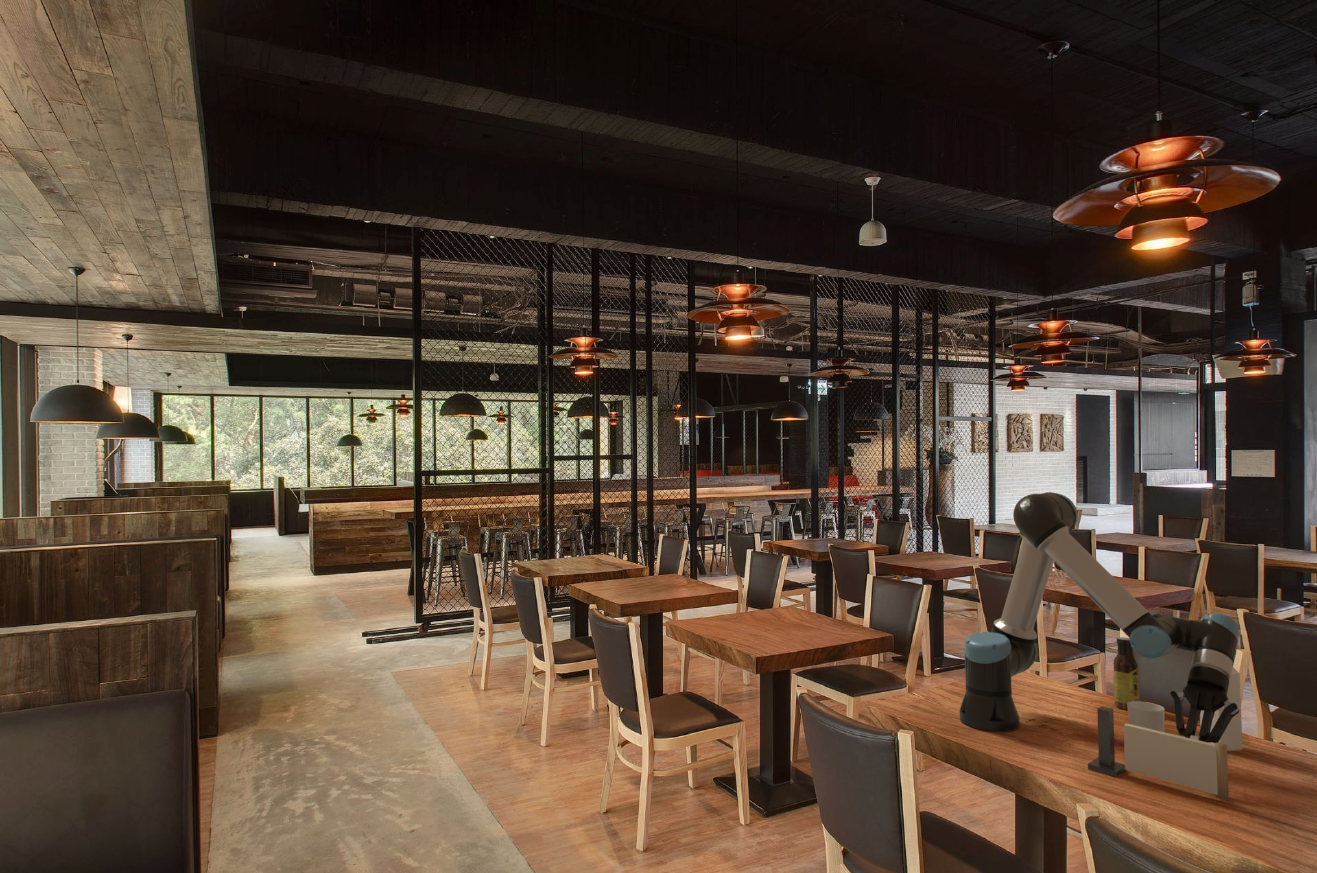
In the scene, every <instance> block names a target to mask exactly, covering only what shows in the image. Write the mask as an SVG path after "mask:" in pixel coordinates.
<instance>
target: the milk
mask: <svg viewBox="0 0 1317 873" xmlns="http://www.w3.org/2000/svg"><path fill="white" fill-rule="evenodd" d="M1227 697H1228V700H1229V701H1230V702H1231V703H1235V704H1237V707H1238V709H1239V713H1238V714H1237V715H1235V716H1234V717H1233V718H1232V719H1231V721H1230V723H1229V724H1228V726H1227V728H1226V730H1225V731H1224V733H1223V735H1222V737H1221V738H1220V740H1219V742H1218V743H1223V744H1226V745H1227V752H1233V751H1234V752H1235V751H1243V725H1242V724H1243V723H1242V722H1243V721H1242V696H1241V673H1240V671H1238V670H1237V669H1236V668H1235V667H1234V666H1232V671H1231V676H1230V679H1229V687H1228V692H1227ZM1223 710H1224V706H1223V707H1222V708H1220V709H1218V710H1217V711H1215V714H1214V718H1213V720H1212V725H1211V730H1210V732H1211V731H1212V729H1213V727H1214V725H1215V724H1216V722H1217V720H1218V718H1219V717H1220V715H1221V713H1222V711H1223ZM1203 713H1204V710H1201V713H1200V715H1199V720H1200V722H1199V724H1200V726H1199V727H1200V728H1201V723H1202V718H1203ZM1210 743H1211V744H1215V743H1213V742H1210Z"/></svg>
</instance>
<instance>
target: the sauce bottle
mask: <svg viewBox="0 0 1317 873" xmlns="http://www.w3.org/2000/svg"><path fill="white" fill-rule="evenodd" d="M1116 645H1117V654H1116V656H1115V657H1114V659H1113V692H1114V705H1115V707H1117V708H1118V709H1121V710H1125V711H1126V710H1127V711H1128V707H1127V703H1128V702H1132V701H1141V700H1140V679H1139V678H1140V676H1139V675H1140V674H1139V671H1140V670H1139V665H1138V663H1137V661H1136V658H1135V656H1134V652H1133V651H1134V650H1133V648H1132V646H1131V644H1130V638H1129V637H1122V636H1120V637H1116Z"/></svg>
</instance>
